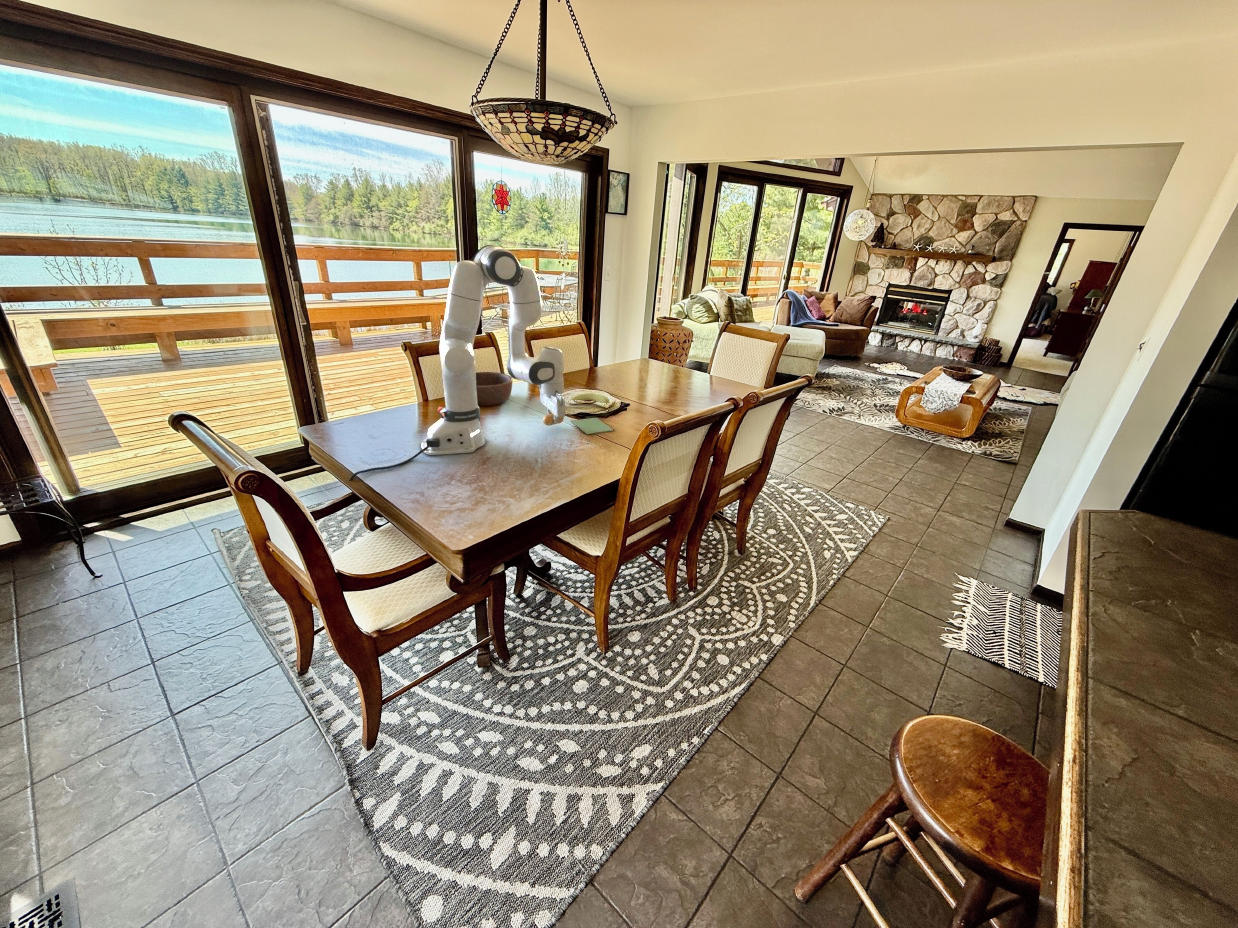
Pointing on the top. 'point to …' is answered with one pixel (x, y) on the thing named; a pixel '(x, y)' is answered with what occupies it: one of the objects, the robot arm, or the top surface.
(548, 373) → the robot arm
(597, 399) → the banana
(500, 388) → the wooden bowl
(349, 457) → the top surface
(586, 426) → the cloth
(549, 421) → the roll
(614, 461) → the top surface
